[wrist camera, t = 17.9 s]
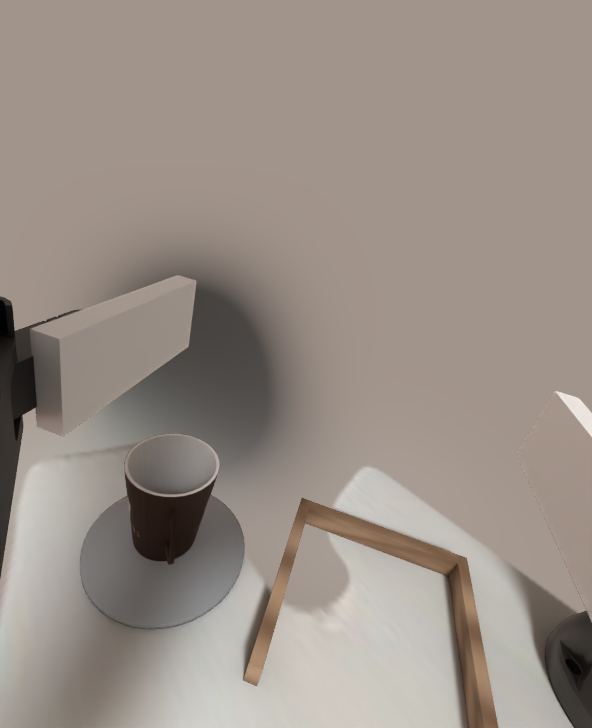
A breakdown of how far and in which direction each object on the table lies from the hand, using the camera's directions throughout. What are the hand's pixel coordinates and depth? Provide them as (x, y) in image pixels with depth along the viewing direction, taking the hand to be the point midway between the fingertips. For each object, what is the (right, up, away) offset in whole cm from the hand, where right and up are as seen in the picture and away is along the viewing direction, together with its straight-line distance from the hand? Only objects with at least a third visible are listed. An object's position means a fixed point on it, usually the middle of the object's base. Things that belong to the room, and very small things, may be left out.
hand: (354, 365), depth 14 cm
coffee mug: (-16, -19, +26) cm, 36 cm away
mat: (-16, -19, +27) cm, 37 cm away
